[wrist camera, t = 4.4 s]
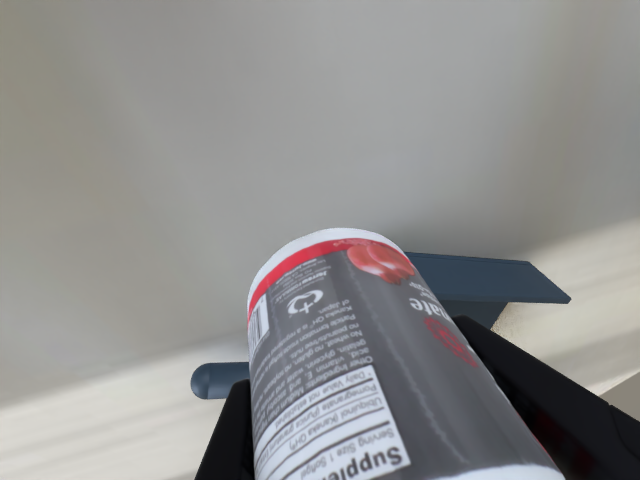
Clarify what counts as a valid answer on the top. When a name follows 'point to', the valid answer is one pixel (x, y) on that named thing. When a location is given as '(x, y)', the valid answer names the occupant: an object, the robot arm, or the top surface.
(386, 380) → the pill bottle
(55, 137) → the top surface
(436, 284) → the dustpan
